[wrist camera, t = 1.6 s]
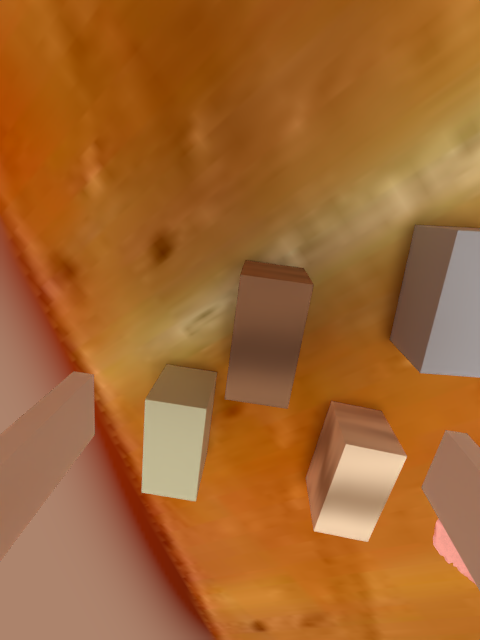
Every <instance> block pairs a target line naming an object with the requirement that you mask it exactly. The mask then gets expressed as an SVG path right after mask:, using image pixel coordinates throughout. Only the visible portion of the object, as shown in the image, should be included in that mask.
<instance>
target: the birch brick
mask: <svg viewBox="0 0 480 640" xmlns="http://www.w3.org/2000/svg"><path fill="white" fill-rule="evenodd" d="M406 458H407V455H406V454H405V452H404V450H403V448H402V446H401V445H400V443H399V441H398V439H397V438H396V436H395V434H394V432H393V431H392V429H391V427H390V425H389V423H388V422H387V420H386V418H385V416H384V415H383V413H382V411H379V410H374V409H369V408H364V407H359V406H354V405H349V404H344V403H339V402H334V401H331V404H330V407H329V410H328V413H327V416H326V419H325V422H324V425H323V428H322V431H321V434H320V437H319V440H318V443H317V446H316V449H315V452H314V455H313V458H312V461H311V464H310V467H309V470H308V473H307V476H306V483H307V489H308V496H309V503H310V510H311V516H312V523H313V530H314V531H317V532H321V533H326V534H331V535H336V536H341V537H346V538H351V539H356V540H361V541H366V542H368V540H369V538H370V536H371V534H372V531H373V529H374V527H375V525H376V523H377V521H378V518H379V516H380V514H381V512H382V510H383V508H384V505H385V503H386V501H387V499H388V497H389V495H390V492H391V490H392V488H393V486H394V484H395V482H396V479H397V477H398V475H399V473H400V471H401V469H402V466H403V464H404V462H405V460H406Z"/></svg>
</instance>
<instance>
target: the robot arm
mask: <svg viewBox="0 0 480 640" xmlns="http://www.w3.org/2000/svg"><path fill="white" fill-rule="evenodd" d="M94 425H95V424H94V375H93V374H87V373H80V372H72V373H71V374H70V375H69V376H68V377H67V378H65V379H64V380H63V381H62V382H61V383H60V384H58V385H57V386H56V387H55V388H54V389H53V390H51V391H50V392H49V393H48V394H47V395H46V396H44V397H43V398H42V399H41V400H40V401H39V402H38V403H36V404H35V405H34V406H33V407H32V408H31V409H29V410H28V411H27V412H26V413H25V414H23V415H22V416H21V417H20V418H19V419H18V420H17V421H15V422H14V423H13V424H12V425H11V426H10V427H9V428H7V429H6V430H5V431H4V432H3V433H1V434H0V561H1V560H2V558H3V557H4V556H5V554H6V553H7V552H8V550H9V549H10V548H11V546H12V545H13V544H14V542H15V541H16V540H17V538H18V537H19V536H20V534H21V533H22V532H23V530H24V529H25V528H26V526H27V525H28V524H29V522H30V521H31V520H32V518H33V517H34V516H35V514H36V513H37V512H38V510H39V509H40V508H41V506H42V505H43V503H44V502H45V501H46V499H47V498H48V497H49V495H50V494H51V493H52V491H53V490H54V489H55V487H56V486H57V485H58V483H59V482H60V481H61V479H62V478H63V477H64V475H65V474H66V472H67V471H68V470H69V468H70V467H71V466H72V465H73V463H74V462H75V461H76V459H77V458H78V456H79V455H80V454H81V452H82V451H83V450H84V449H85V447H86V446H87V444H88V443H89V442H90V440H91V439H92V438H93V436H94V435H95V428H94V427H95V426H94ZM422 490H423V491H424V493H425V495H426V497H427V498H428V500H429V502H430V504H431V506H432V507H433V509H434V511H435V513H436V514H437V516H438V518H439V520H440V521H441V523H442V525H443V527H444V529H445V530H446V532H447V534H448V536H449V537H450V539H451V541H452V543H453V544H454V546H455V548H456V550H457V551H458V553H459V555H460V557H461V559H462V560H463V562H464V564H465V566H466V567H467V569H468V571H469V573H470V574H471V576H472V578H473V580H474V582H475V583H476V585H477V587H478V589H479V590H480V448H479V447H478V445H477V444H476V443H475V442H474V441H473V440H472V439H471V438H470V437H469V435H468V434H466V433H460V432H454V431H447V430H446V431H445V433H444V436H443V438H442V440H441V443H440V445H439V448H438V450H437V452H436V455H435V457H434V459H433V462H432V464H431V466H430V469H429V471H428V473H427V476H426V478H425V481H424V483H423V485H422Z"/></svg>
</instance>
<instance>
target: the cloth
mask: <svg viewBox="0 0 480 640" xmlns="http://www.w3.org/2000/svg"><path fill="white" fill-rule="evenodd" d="M433 545H434V546H435V548H436V549H437V551H438V552H439V554H440V555H442V556H444V557H445V560H446V561H447V562H448V564H450V563H453V566H455V567H457V568H458V570H459V571H460V572H461V573H463V574H464V575H465V576H467V577H468V578H469V580H471V581H472V582H474V580H473V578H472V576H471V574H470V573H469V571H468V569H467V567H466V566H465V564H464V562H463V560H462V559H461V557H460V555H459V553H458V551H457V550H456V548H455V546H454V544H453V543H452V541H451V539H450V537H449V536H448V534H447V532H446V530H445V529H444V527H443V525H442V523H441V521H440V520H439V519H438V520H437V522H436V526H435V534H434V536H433ZM474 583H475V582H474ZM475 584H476V583H475Z"/></svg>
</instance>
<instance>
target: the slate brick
mask: <svg viewBox="0 0 480 640" xmlns="http://www.w3.org/2000/svg"><path fill="white" fill-rule="evenodd" d="M390 341H391V342H392V343H393V344H394V345H395V346H396V347H397V348H398V349H399V351H400V352H401V353H402V354H403V355H404V356H405V357H406V358H407V359H408V360H409V361H410V362H411V363H412V365H413V366H414V367H415V368H416V369H417V370H418V371H419V372H420V373H428V374H441V375H454V376H468V377H480V228H467V227H447V226H428V225H415V228H414V233H413V237H412V242H411V246H410V251H409V255H408V260H407V264H406V269H405V273H404V278H403V282H402V287H401V291H400V296H399V300H398V305H397V309H396V314H395V318H394V323H393V328H392V332H391V337H390Z"/></svg>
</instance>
